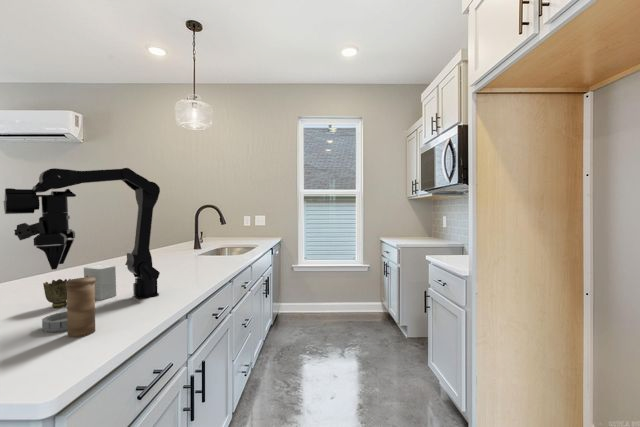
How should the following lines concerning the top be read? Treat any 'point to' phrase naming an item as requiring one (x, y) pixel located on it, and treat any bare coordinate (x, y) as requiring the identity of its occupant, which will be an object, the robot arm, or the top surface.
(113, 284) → the small box
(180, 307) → the top surface
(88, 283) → the brown cylinder
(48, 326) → the ring
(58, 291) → the ornate scalloped vase
